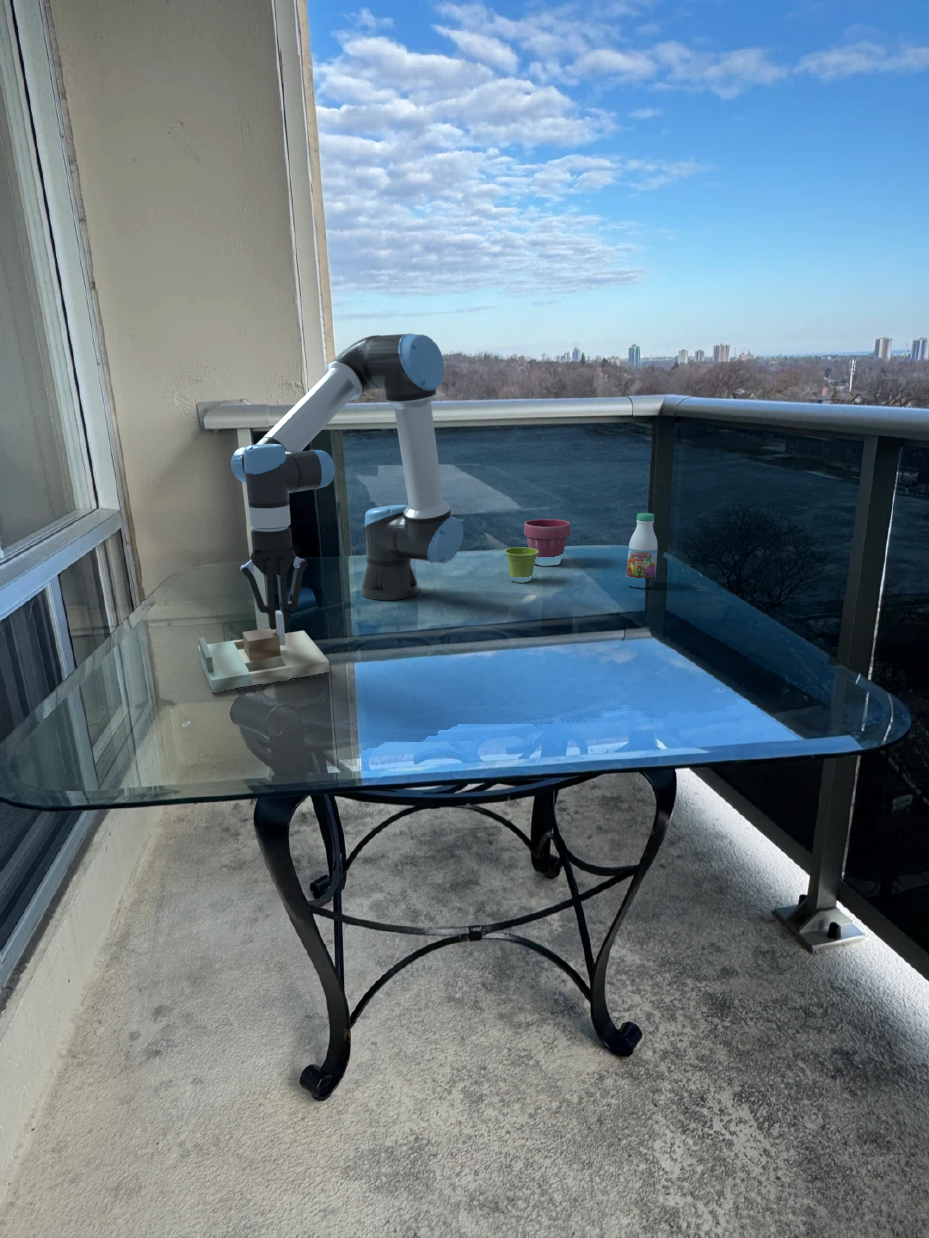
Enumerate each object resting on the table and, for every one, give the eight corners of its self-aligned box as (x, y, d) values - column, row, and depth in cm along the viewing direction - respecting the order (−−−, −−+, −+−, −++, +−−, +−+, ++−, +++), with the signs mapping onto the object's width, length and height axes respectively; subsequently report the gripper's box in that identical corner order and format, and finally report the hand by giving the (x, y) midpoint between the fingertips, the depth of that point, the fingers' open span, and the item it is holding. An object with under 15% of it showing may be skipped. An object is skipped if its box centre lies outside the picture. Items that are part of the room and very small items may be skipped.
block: (274, 646, 151) (272, 627, 150) (280, 655, 146) (279, 636, 144) (244, 650, 148) (242, 631, 147) (249, 660, 143) (248, 641, 142)
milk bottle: (625, 581, 208) (630, 511, 202) (652, 582, 207) (658, 511, 201) (626, 588, 201) (632, 516, 195) (655, 589, 200) (662, 516, 194)
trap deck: (304, 641, 161) (302, 617, 159) (329, 673, 144) (328, 646, 142) (199, 657, 152) (196, 631, 150) (212, 692, 135) (209, 664, 133)
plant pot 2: (522, 557, 235) (523, 518, 231) (566, 558, 235) (568, 518, 231) (524, 568, 222) (525, 526, 218) (571, 569, 221) (573, 527, 217)
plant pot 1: (538, 585, 204) (539, 554, 202) (504, 585, 204) (505, 554, 202) (536, 576, 213) (537, 547, 210) (503, 576, 213) (504, 547, 211)
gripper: (299, 521, 147) (307, 633, 154) (232, 527, 141) (244, 642, 149) (309, 528, 140) (317, 644, 148) (239, 534, 135) (251, 654, 142)
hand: (280, 643), depth 148 cm, fingers closed
